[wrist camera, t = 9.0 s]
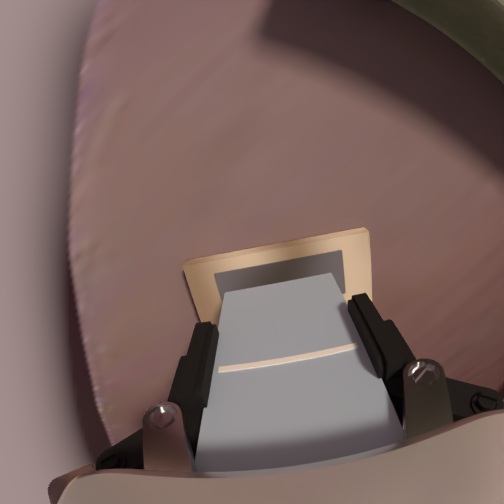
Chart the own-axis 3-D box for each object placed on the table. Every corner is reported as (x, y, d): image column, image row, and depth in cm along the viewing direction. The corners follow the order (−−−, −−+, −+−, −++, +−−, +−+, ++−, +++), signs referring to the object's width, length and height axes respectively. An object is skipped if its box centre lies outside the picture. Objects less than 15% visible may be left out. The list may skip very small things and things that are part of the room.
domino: (333, 301, 15) (409, 510, 4) (232, 320, 15) (208, 539, 5) (331, 271, 14) (425, 489, 4) (224, 291, 15) (184, 523, 4)
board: (364, 227, 16) (369, 232, 15) (357, 468, 26) (359, 474, 25) (185, 260, 17) (182, 267, 16) (270, 482, 27) (270, 489, 26)
